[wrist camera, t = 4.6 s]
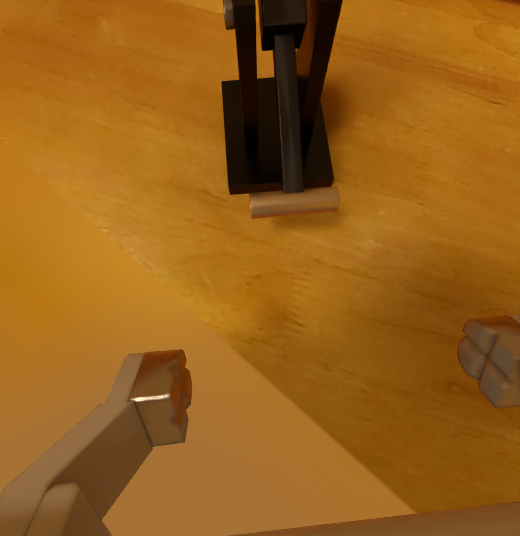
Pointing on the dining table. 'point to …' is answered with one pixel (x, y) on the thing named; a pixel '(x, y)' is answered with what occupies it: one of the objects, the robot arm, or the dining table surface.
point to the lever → (288, 115)
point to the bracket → (264, 103)
